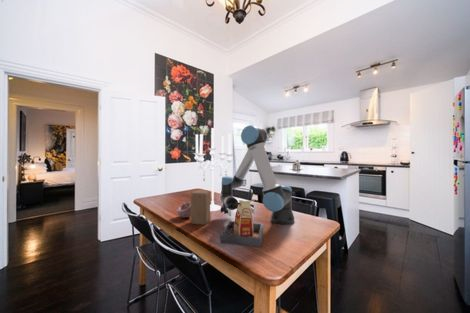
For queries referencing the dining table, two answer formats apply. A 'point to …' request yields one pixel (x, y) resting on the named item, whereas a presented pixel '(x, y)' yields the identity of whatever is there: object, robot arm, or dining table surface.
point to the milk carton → (243, 219)
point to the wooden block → (200, 207)
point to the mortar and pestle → (184, 210)
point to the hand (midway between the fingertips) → (242, 212)
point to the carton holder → (242, 239)
